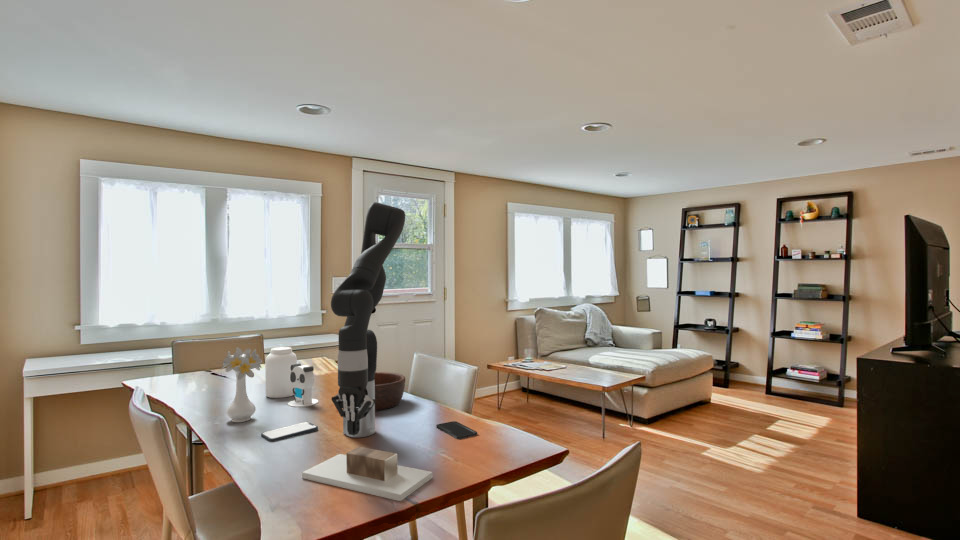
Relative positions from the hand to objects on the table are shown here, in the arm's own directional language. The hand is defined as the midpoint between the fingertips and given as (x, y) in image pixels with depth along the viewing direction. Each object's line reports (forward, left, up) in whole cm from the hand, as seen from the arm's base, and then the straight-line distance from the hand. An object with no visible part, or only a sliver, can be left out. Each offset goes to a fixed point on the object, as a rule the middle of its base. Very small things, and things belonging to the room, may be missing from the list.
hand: (353, 434), depth 129 cm
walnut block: (0, 0, -7) cm, 7 cm away
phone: (+7, +42, -11) cm, 44 cm away
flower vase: (-67, +21, -11) cm, 71 cm away
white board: (+4, 0, -11) cm, 11 cm away
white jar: (-83, +53, -11) cm, 99 cm away
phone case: (-41, +18, -11) cm, 46 cm away
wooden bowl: (-38, +57, -11) cm, 69 cm away
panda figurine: (-65, +47, -11) cm, 81 cm away
